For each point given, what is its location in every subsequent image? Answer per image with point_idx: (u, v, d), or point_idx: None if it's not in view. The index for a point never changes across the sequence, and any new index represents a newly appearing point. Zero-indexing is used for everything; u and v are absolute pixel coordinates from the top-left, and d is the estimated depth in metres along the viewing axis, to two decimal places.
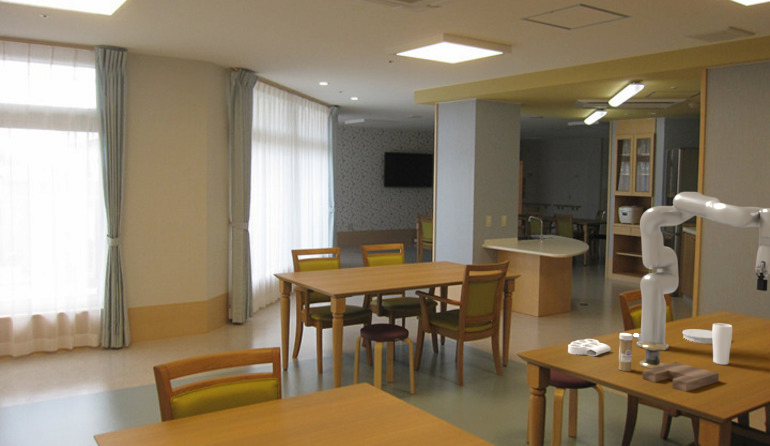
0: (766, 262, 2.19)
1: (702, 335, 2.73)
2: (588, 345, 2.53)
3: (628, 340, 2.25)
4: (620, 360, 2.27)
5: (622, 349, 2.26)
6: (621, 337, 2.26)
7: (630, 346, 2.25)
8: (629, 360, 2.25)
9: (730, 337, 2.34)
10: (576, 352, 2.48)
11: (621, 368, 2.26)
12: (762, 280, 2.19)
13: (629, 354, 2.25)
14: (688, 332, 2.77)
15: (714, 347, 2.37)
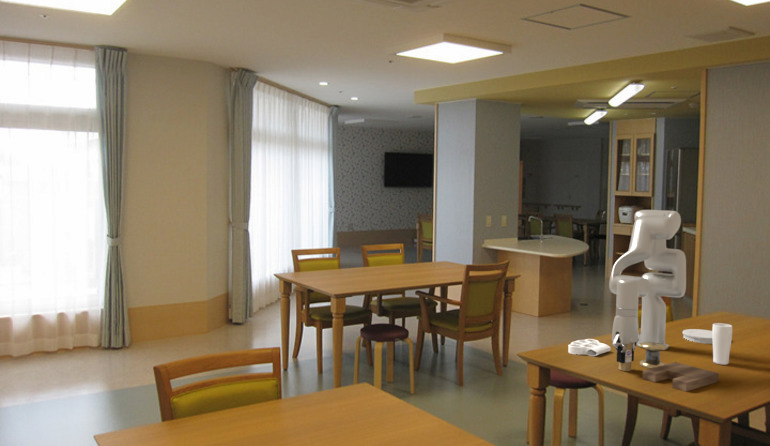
0: (620, 333, 2.23)
1: (702, 335, 2.73)
2: (588, 345, 2.53)
3: None
4: None
5: None
6: None
7: (630, 346, 2.25)
8: (630, 360, 2.25)
9: (730, 337, 2.34)
10: (576, 352, 2.48)
11: (621, 368, 2.26)
12: (620, 353, 2.25)
13: (629, 354, 2.25)
14: (688, 332, 2.77)
15: (714, 347, 2.37)
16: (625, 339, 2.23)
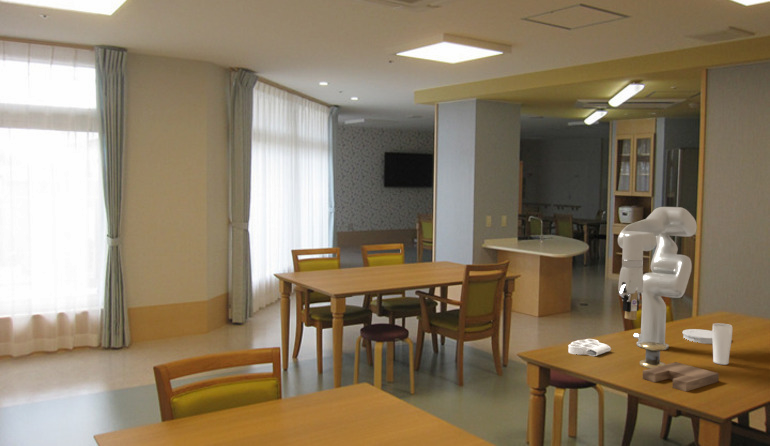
0: (626, 283, 2.37)
1: (702, 335, 2.73)
2: (588, 345, 2.53)
3: None
4: None
5: None
6: None
7: (636, 296, 2.39)
8: (635, 309, 2.40)
9: (730, 337, 2.34)
10: (576, 352, 2.48)
11: (627, 317, 2.40)
12: (626, 302, 2.39)
13: (635, 303, 2.39)
14: (688, 332, 2.77)
15: (714, 347, 2.37)
16: (631, 289, 2.37)
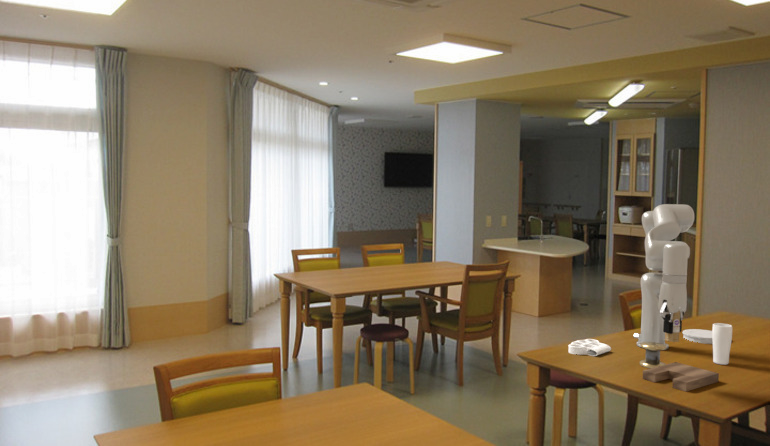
0: (668, 301, 2.07)
1: (702, 335, 2.73)
2: (588, 345, 2.53)
3: None
4: None
5: None
6: None
7: (678, 315, 2.10)
8: (678, 330, 2.10)
9: (730, 337, 2.34)
10: (576, 352, 2.48)
11: (668, 339, 2.11)
12: (668, 322, 2.09)
13: (677, 323, 2.09)
14: (688, 332, 2.77)
15: (714, 347, 2.37)
16: (673, 307, 2.08)
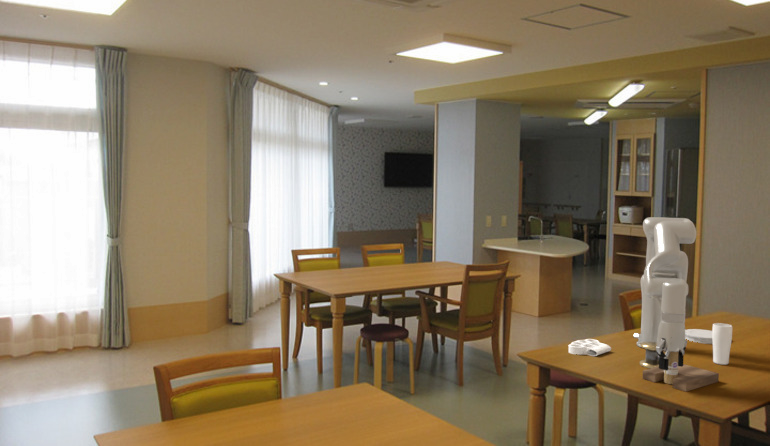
0: (666, 339, 2.08)
1: (702, 335, 2.73)
2: (588, 345, 2.53)
3: (674, 351, 2.10)
4: (665, 372, 2.12)
5: None
6: None
7: (676, 358, 2.11)
8: (676, 372, 2.11)
9: (730, 337, 2.34)
10: (576, 352, 2.48)
11: (667, 381, 2.12)
12: (663, 359, 2.09)
13: (675, 366, 2.10)
14: (688, 332, 2.77)
15: (714, 347, 2.37)
16: (672, 346, 2.08)
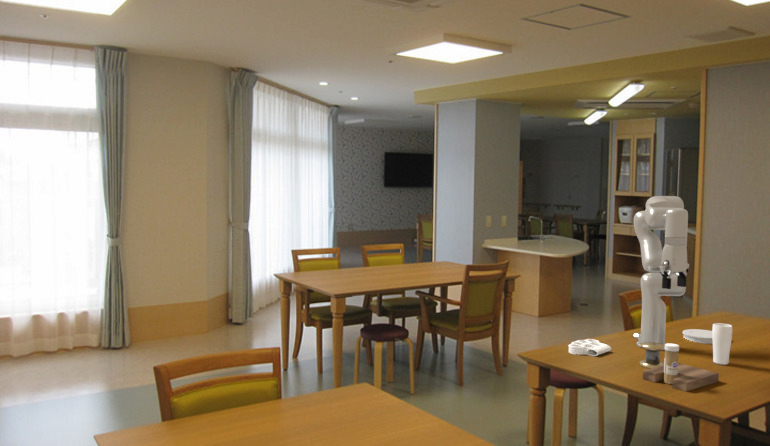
0: (670, 261, 2.26)
1: (702, 335, 2.73)
2: (588, 345, 2.53)
3: (674, 351, 2.10)
4: (665, 372, 2.12)
5: (667, 360, 2.11)
6: (667, 348, 2.11)
7: (676, 358, 2.11)
8: (676, 372, 2.11)
9: (730, 337, 2.34)
10: (577, 352, 2.48)
11: (667, 381, 2.12)
12: (666, 278, 2.26)
13: (675, 366, 2.10)
14: (688, 332, 2.77)
15: (714, 347, 2.37)
16: (675, 267, 2.26)
